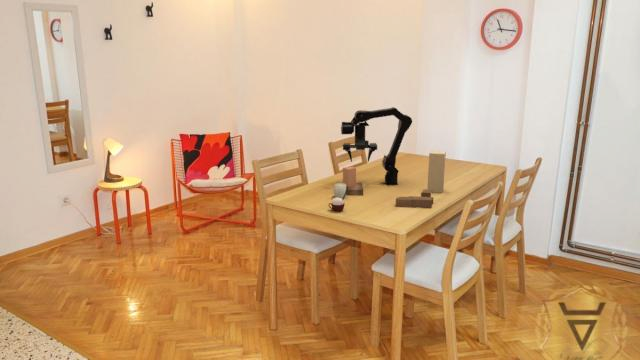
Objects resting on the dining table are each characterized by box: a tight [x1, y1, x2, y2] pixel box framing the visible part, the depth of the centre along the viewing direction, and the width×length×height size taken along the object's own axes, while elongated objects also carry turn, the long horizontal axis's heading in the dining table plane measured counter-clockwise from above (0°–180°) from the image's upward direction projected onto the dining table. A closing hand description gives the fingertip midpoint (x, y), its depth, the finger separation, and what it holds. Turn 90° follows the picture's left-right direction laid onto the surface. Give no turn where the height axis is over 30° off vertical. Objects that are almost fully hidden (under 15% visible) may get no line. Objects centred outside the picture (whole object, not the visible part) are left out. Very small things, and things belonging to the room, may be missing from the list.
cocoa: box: [328, 186, 349, 213], centre depth 248 cm, size 10×6×12 cm, turn 59°
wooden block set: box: [395, 189, 434, 209], centre depth 260 cm, size 17×6×18 cm
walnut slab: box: [346, 182, 364, 196], centre depth 280 cm, size 14×14×3 cm
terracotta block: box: [342, 166, 357, 188], centre depth 278 cm, size 5×5×10 cm
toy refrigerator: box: [426, 150, 447, 194], centre depth 277 cm, size 8×7×21 cm
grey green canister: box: [333, 182, 347, 200], centre depth 269 cm, size 6×6×7 cm
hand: (359, 161), depth 290 cm, fingers open, 9 cm apart
